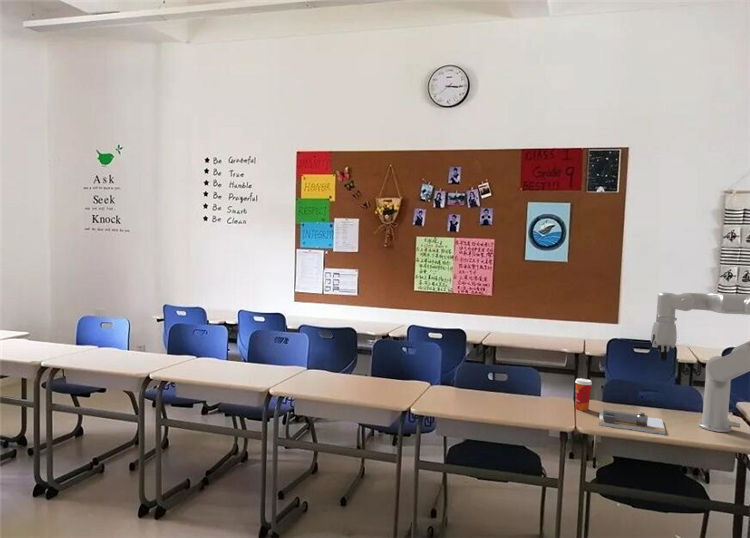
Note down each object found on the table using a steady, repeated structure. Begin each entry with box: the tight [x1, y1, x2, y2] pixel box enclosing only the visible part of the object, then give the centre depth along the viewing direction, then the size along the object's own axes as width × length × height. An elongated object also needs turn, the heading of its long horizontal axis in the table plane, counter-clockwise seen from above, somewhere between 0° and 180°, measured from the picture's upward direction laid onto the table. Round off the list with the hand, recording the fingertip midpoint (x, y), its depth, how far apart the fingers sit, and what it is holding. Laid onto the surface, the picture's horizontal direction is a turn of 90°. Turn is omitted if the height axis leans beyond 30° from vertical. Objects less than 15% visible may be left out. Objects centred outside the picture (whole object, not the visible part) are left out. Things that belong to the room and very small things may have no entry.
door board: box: [598, 410, 666, 436], centre depth 260 cm, size 26×20×4 cm
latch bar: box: [602, 408, 649, 426], centre depth 256 cm, size 18×5×5 cm, turn 67°
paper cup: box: [574, 378, 593, 412], centre depth 279 cm, size 8×8×14 cm
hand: (662, 360), depth 267 cm, fingers closed
